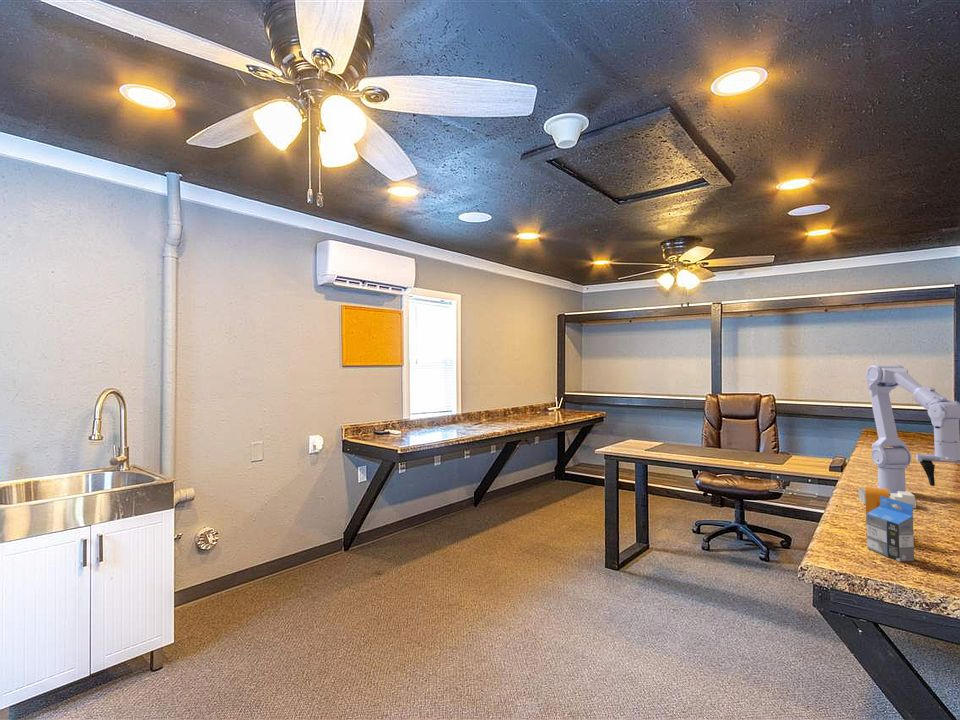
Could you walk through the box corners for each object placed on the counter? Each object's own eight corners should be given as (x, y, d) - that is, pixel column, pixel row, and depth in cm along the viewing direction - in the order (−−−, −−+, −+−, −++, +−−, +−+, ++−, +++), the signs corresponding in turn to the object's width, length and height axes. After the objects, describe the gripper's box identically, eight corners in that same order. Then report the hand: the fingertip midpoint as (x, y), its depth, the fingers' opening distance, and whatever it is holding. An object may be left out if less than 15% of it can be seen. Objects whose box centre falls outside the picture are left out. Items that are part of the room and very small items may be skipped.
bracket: (904, 545, 124) (902, 494, 124) (866, 539, 128) (865, 490, 128) (902, 534, 132) (901, 487, 132) (867, 529, 136) (865, 483, 137)
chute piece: (890, 503, 164) (890, 490, 165) (910, 504, 162) (910, 492, 162) (895, 507, 159) (894, 494, 159) (915, 509, 157) (915, 495, 157)
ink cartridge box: (865, 548, 121) (864, 495, 121) (881, 548, 121) (879, 495, 122) (899, 562, 112) (897, 505, 113) (916, 561, 112) (914, 504, 113)
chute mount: (858, 498, 170) (858, 487, 170) (885, 500, 167) (885, 489, 167) (864, 504, 161) (864, 493, 161) (892, 507, 158) (892, 495, 158)
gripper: (919, 441, 156) (921, 486, 156) (984, 444, 149) (986, 491, 149) (913, 439, 162) (915, 482, 162) (974, 441, 155) (976, 486, 155)
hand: (948, 486), depth 156 cm, fingers open, 7 cm apart
